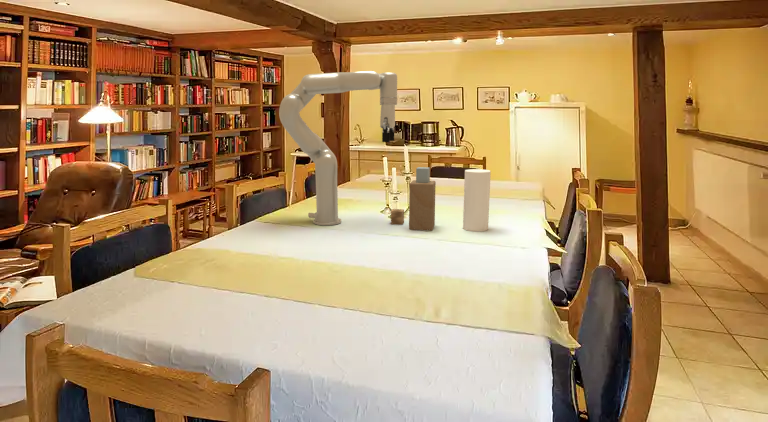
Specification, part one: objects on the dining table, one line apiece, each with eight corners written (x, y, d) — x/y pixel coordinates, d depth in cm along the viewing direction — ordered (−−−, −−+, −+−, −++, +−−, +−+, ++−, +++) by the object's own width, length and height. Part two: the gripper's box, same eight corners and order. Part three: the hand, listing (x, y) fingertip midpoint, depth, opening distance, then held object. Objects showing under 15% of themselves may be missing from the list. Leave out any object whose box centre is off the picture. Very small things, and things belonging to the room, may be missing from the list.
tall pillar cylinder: (492, 228, 222) (495, 170, 217) (479, 232, 214) (481, 172, 209) (472, 224, 229) (474, 168, 224) (458, 228, 221) (459, 170, 216)
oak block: (390, 224, 229) (390, 211, 228) (393, 221, 234) (393, 209, 233) (402, 224, 228) (402, 211, 227) (403, 222, 233) (404, 209, 232)
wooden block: (432, 230, 217) (433, 184, 213) (408, 229, 219) (409, 183, 215) (434, 225, 227) (435, 180, 223) (412, 224, 229) (412, 180, 225)
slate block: (416, 182, 217) (416, 168, 216) (418, 181, 222) (418, 167, 221) (427, 183, 216) (428, 168, 215) (429, 181, 221) (429, 167, 219)
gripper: (384, 102, 234) (384, 140, 237) (375, 101, 217) (375, 142, 220) (400, 102, 232) (400, 140, 235) (392, 101, 215) (392, 142, 219)
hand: (388, 141), depth 228 cm, fingers open, 9 cm apart
